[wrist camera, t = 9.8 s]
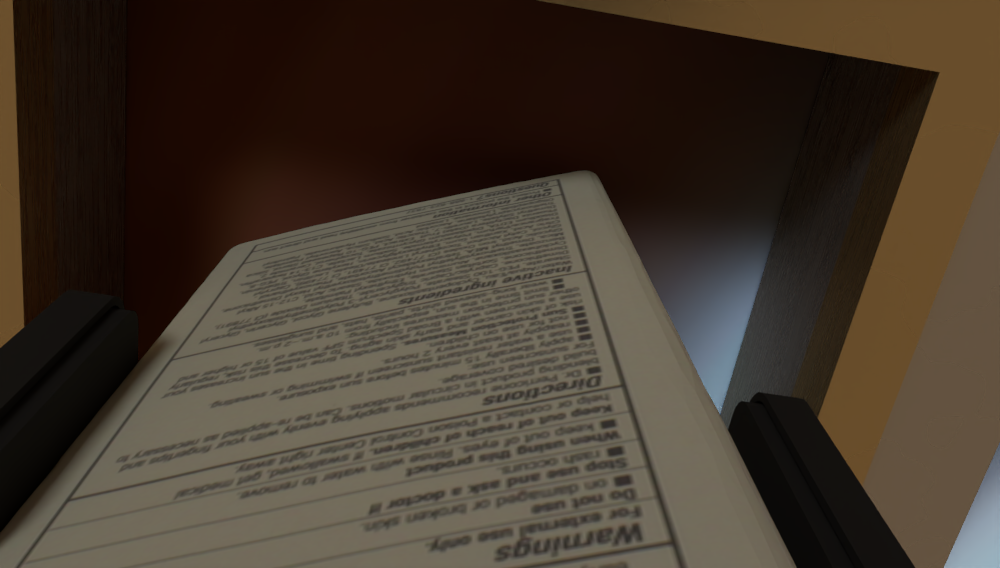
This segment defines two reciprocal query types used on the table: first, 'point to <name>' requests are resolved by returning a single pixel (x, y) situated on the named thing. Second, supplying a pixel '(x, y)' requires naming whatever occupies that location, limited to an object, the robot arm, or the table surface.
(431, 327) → the skincare box
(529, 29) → the table surface
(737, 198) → the table surface
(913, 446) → the picture frame
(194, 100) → the table surface
